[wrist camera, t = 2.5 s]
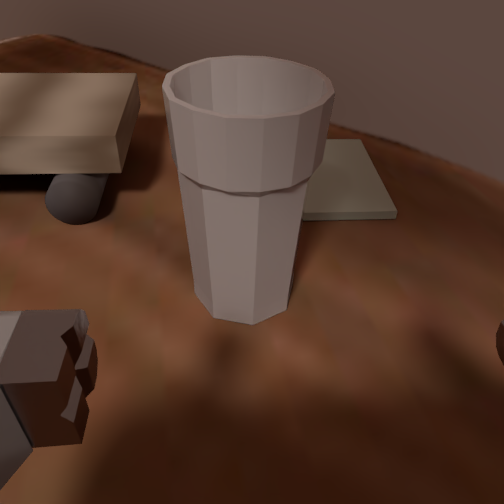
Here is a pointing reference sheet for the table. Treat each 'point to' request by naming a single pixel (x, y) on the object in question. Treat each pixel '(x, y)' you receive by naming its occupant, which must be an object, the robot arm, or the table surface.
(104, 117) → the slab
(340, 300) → the table surface
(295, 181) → the cup
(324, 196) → the pad
